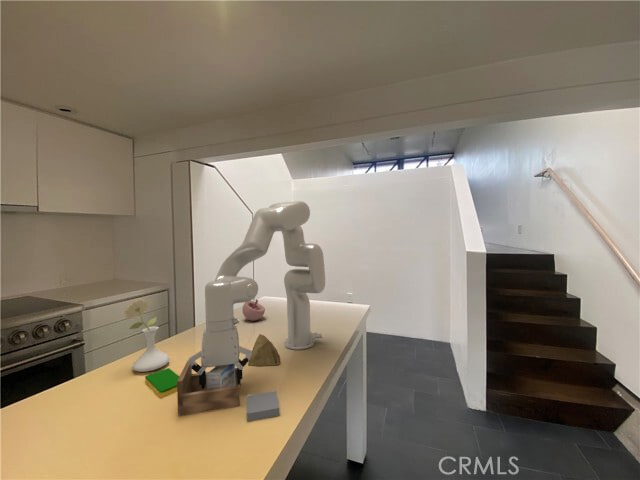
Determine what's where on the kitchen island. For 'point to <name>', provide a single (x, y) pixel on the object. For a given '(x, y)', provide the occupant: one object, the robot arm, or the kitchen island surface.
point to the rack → (203, 394)
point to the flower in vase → (151, 356)
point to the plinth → (262, 406)
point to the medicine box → (221, 377)
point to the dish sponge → (163, 382)
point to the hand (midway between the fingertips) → (221, 384)
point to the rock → (264, 353)
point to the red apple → (253, 310)
